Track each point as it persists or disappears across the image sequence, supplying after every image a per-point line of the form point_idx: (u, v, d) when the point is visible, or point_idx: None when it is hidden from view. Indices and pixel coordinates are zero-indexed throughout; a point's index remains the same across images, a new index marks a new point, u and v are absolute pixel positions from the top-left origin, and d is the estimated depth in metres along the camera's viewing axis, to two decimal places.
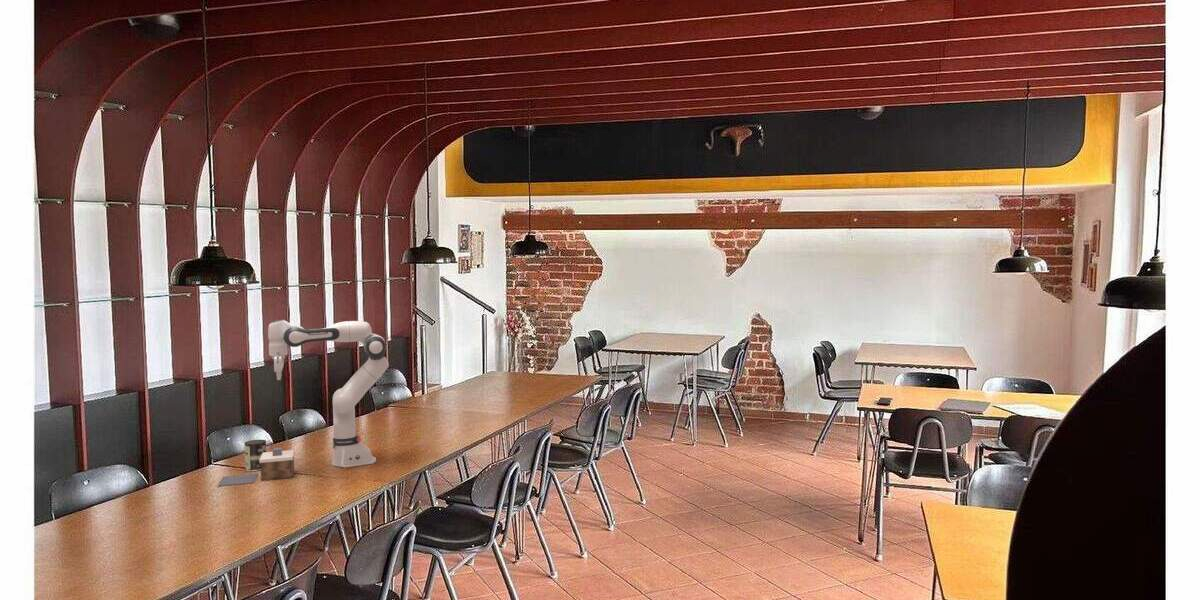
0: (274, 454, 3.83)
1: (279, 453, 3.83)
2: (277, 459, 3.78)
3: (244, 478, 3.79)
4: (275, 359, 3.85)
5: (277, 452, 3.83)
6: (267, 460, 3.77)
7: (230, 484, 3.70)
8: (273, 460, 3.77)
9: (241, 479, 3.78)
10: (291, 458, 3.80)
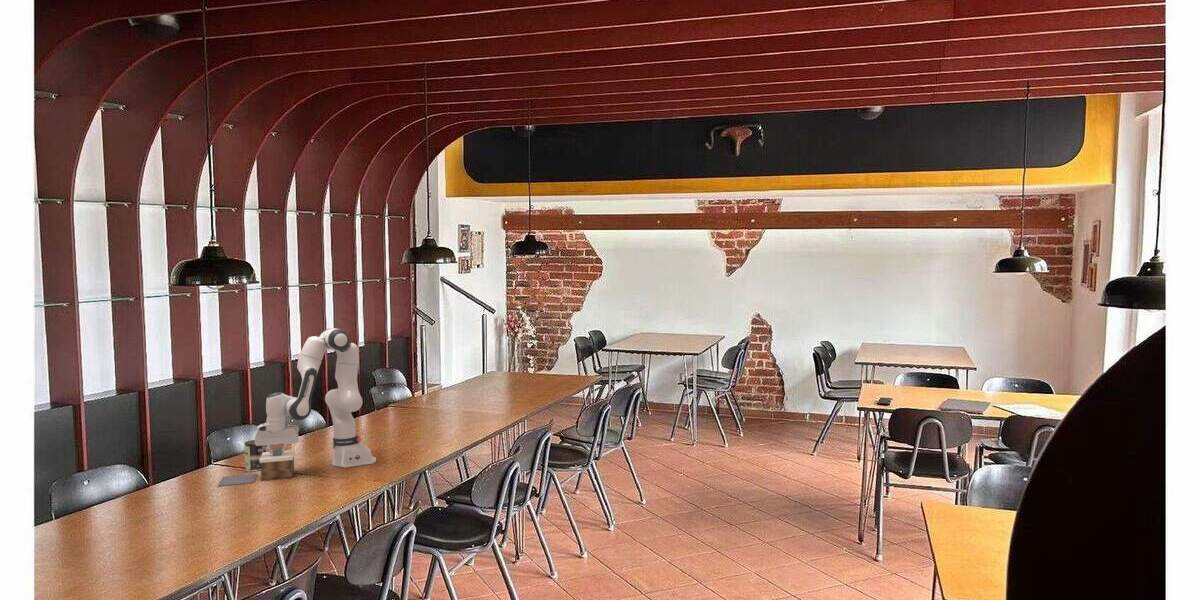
0: (274, 454, 3.83)
1: (279, 453, 3.83)
2: (277, 459, 3.78)
3: (244, 478, 3.79)
4: (296, 430, 3.86)
5: (277, 452, 3.83)
6: (267, 460, 3.77)
7: (230, 484, 3.70)
8: (273, 460, 3.77)
9: (241, 479, 3.78)
10: (291, 458, 3.80)
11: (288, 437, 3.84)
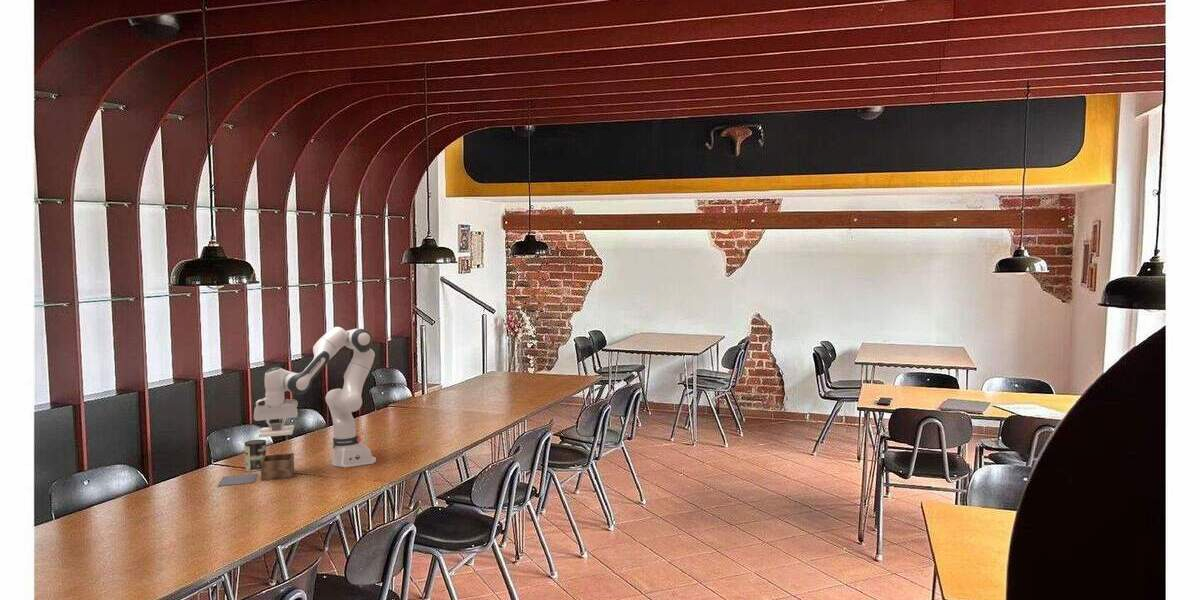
0: (273, 429, 3.82)
1: (278, 428, 3.83)
2: (276, 434, 3.77)
3: (244, 478, 3.79)
4: (295, 404, 3.85)
5: (276, 427, 3.82)
6: (266, 435, 3.76)
7: (230, 484, 3.70)
8: (272, 435, 3.77)
9: (241, 479, 3.78)
10: (290, 433, 3.79)
11: (287, 412, 3.84)
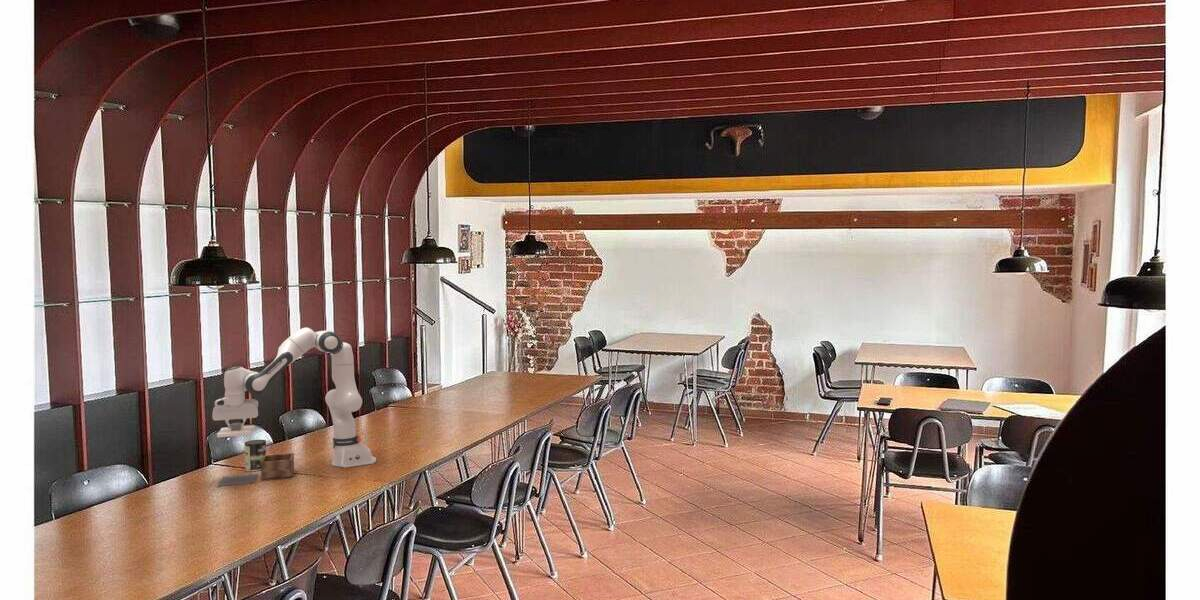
0: (232, 429, 3.74)
1: (238, 428, 3.75)
2: (235, 434, 3.70)
3: (244, 478, 3.79)
4: (255, 404, 3.78)
5: (236, 427, 3.75)
6: (225, 435, 3.68)
7: (230, 484, 3.70)
8: (231, 435, 3.69)
9: (241, 479, 3.78)
10: (250, 433, 3.72)
11: (246, 412, 3.76)
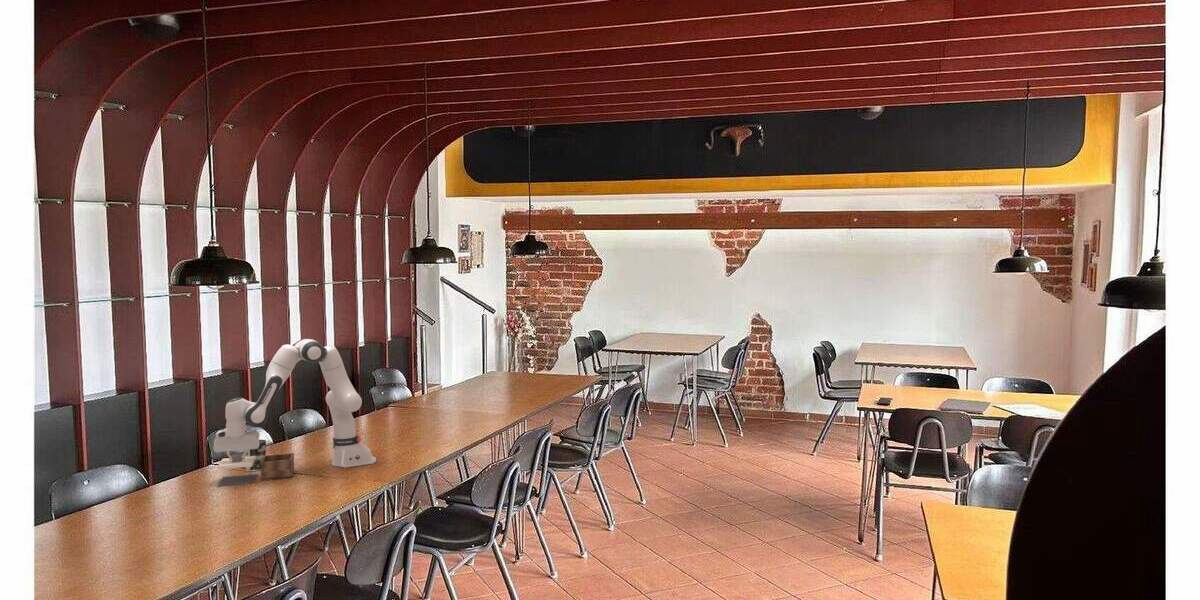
0: (234, 460, 3.75)
1: (239, 459, 3.76)
2: (236, 465, 3.70)
3: (244, 478, 3.79)
4: (256, 436, 3.79)
5: (237, 458, 3.75)
6: (226, 466, 3.69)
7: (230, 484, 3.70)
8: (232, 466, 3.70)
9: (241, 479, 3.78)
10: (251, 464, 3.72)
11: (248, 443, 3.77)
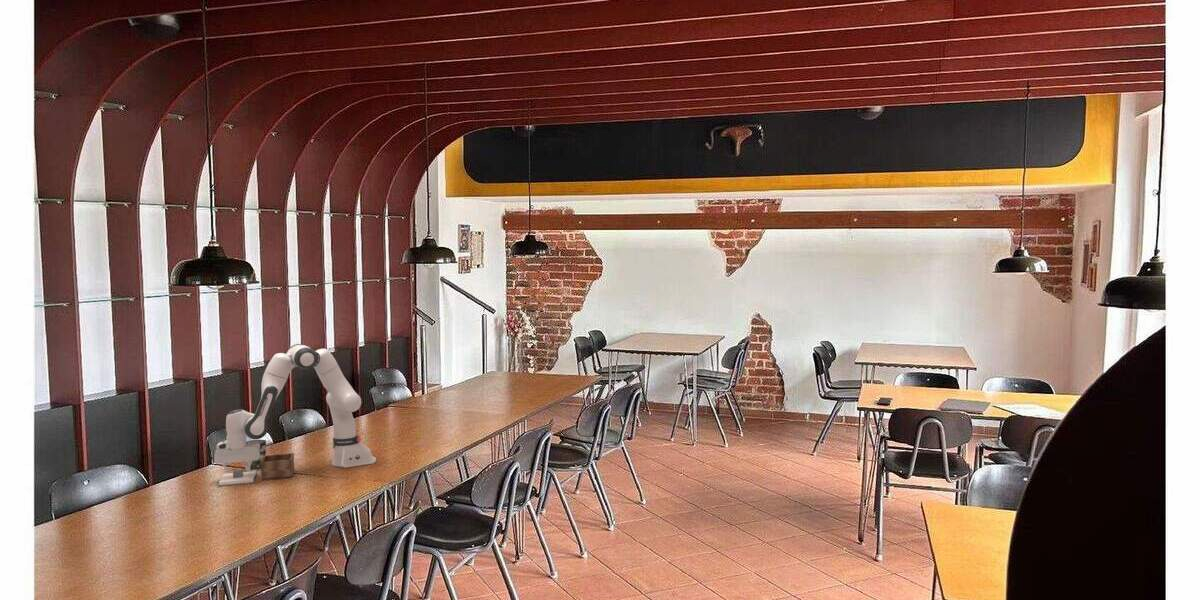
0: (235, 476, 3.76)
1: (240, 475, 3.76)
2: (237, 481, 3.71)
3: None
4: (257, 447, 3.79)
5: (238, 474, 3.76)
6: (227, 482, 3.70)
7: (230, 484, 3.70)
8: (233, 482, 3.71)
9: None
10: (252, 480, 3.73)
11: (248, 455, 3.77)
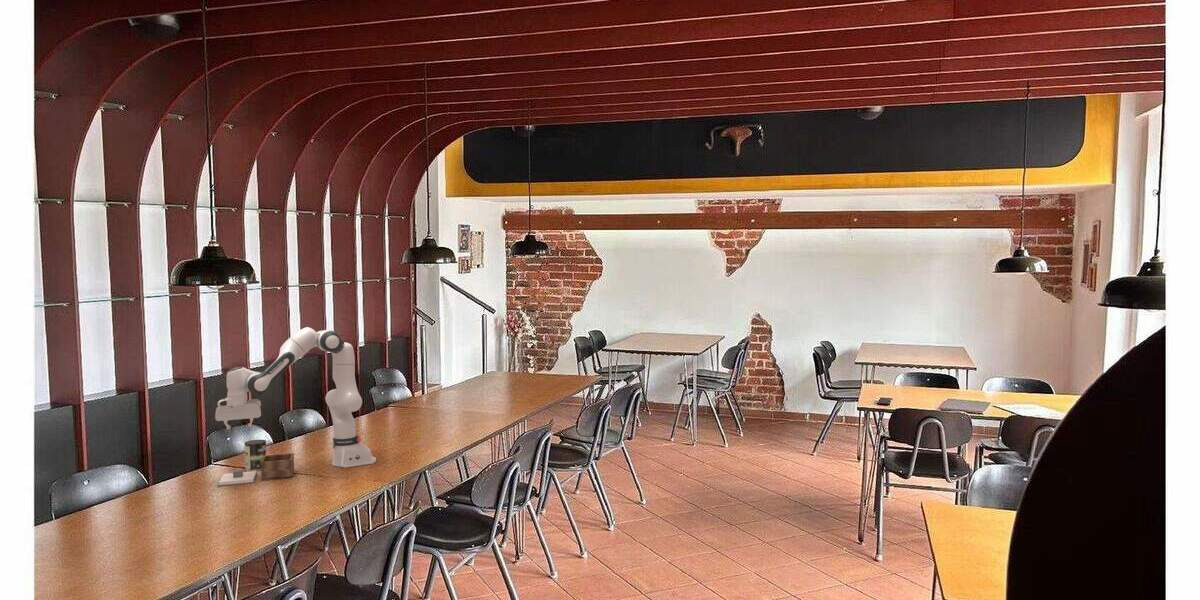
0: (235, 476, 3.76)
1: (240, 475, 3.76)
2: (237, 481, 3.71)
3: None
4: (258, 404, 3.79)
5: (238, 474, 3.76)
6: (227, 482, 3.70)
7: (230, 484, 3.70)
8: (233, 482, 3.71)
9: None
10: (252, 480, 3.73)
11: (249, 412, 3.78)
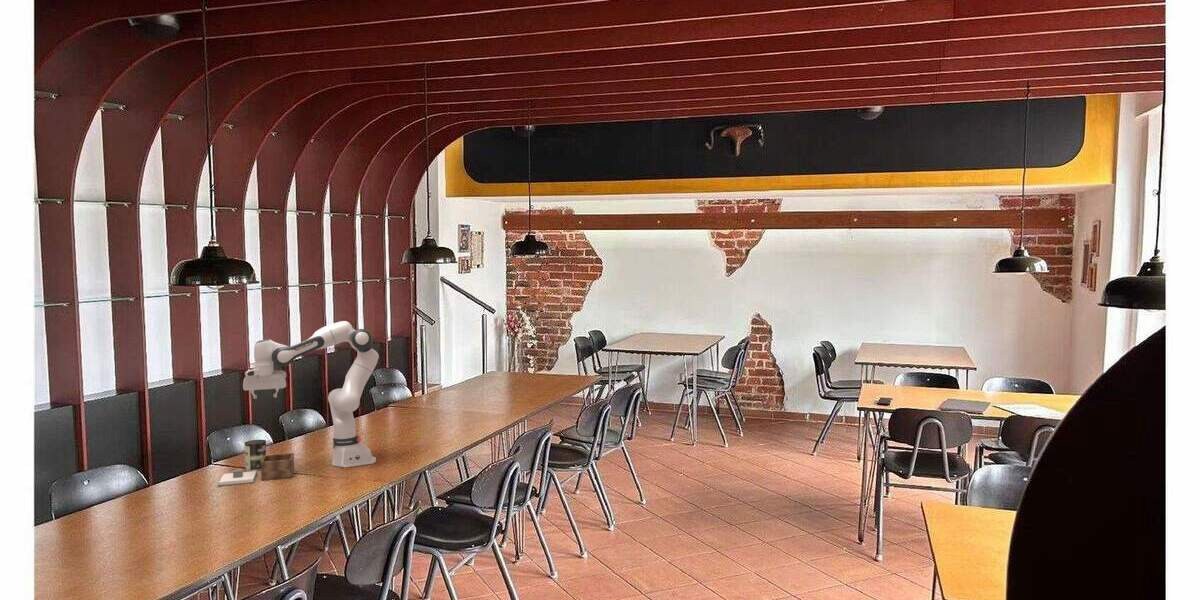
0: (235, 476, 3.76)
1: (240, 475, 3.76)
2: (237, 481, 3.71)
3: None
4: (283, 375, 3.96)
5: (238, 474, 3.76)
6: (227, 482, 3.70)
7: (230, 484, 3.70)
8: (233, 482, 3.71)
9: None
10: (252, 480, 3.73)
11: (275, 382, 3.94)
